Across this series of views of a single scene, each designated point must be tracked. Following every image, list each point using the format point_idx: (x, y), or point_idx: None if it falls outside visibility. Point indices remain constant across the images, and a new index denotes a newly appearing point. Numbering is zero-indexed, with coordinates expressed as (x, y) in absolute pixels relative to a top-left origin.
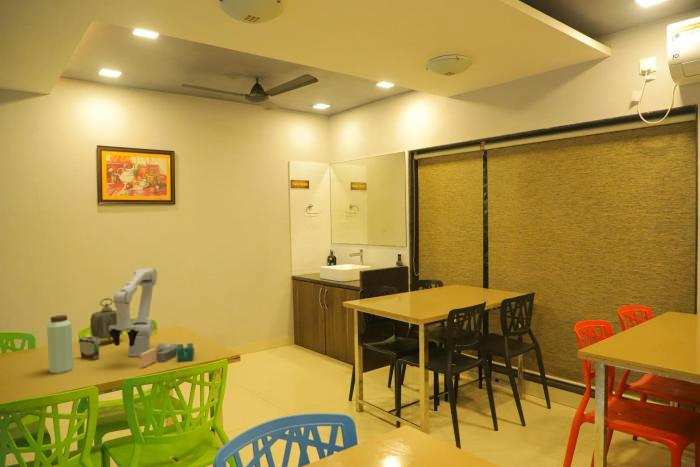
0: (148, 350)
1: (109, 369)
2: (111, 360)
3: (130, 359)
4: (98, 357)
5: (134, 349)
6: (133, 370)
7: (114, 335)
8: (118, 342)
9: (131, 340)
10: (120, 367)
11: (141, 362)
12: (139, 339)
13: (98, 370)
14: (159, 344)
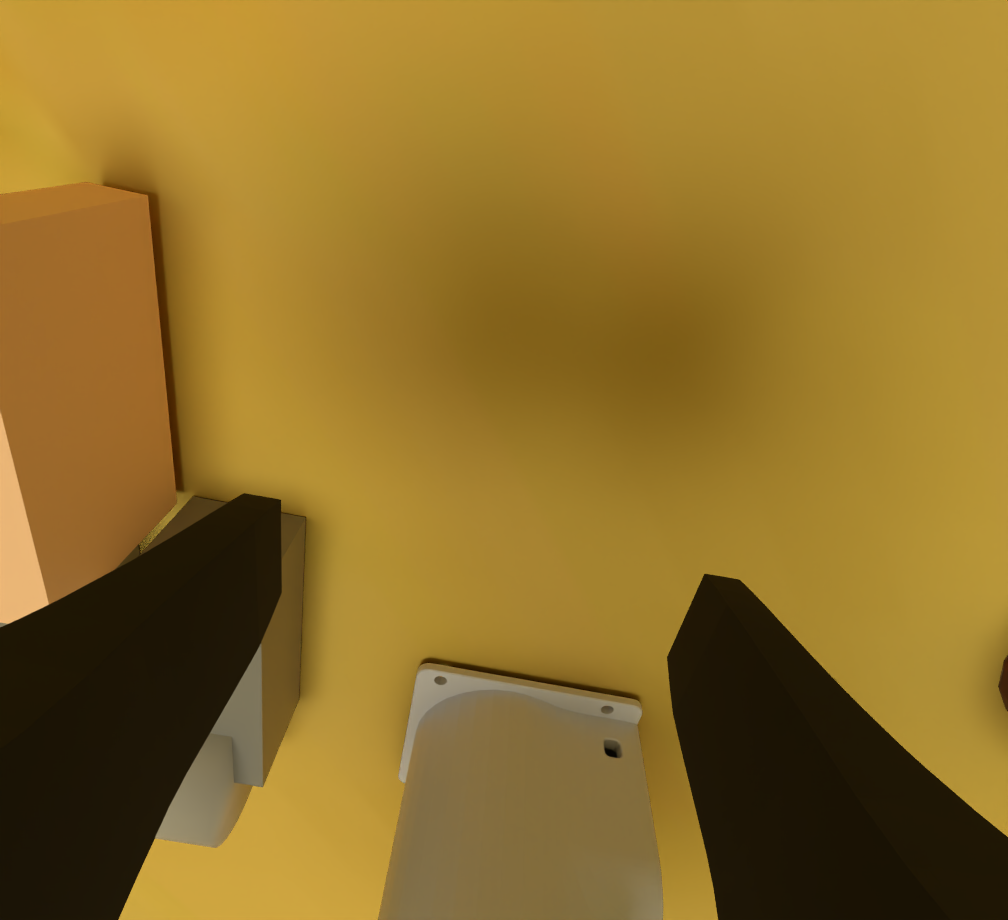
0: (25, 512)
1: (690, 167)
2: (802, 590)
3: (559, 602)
4: (1005, 688)
5: (564, 772)
6: (206, 64)
7: (916, 906)
8: (694, 694)
9: (80, 591)
10: (538, 270)
11: (72, 199)
12: (463, 917)
13: (883, 117)
14: (194, 812)
